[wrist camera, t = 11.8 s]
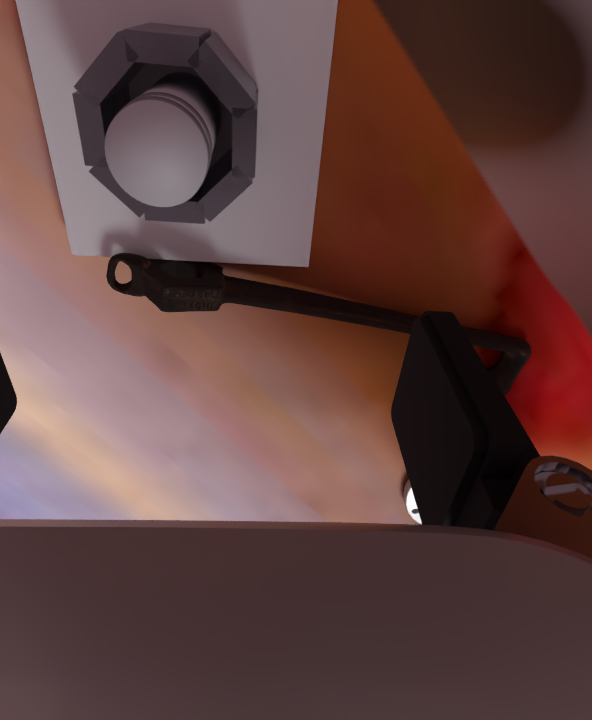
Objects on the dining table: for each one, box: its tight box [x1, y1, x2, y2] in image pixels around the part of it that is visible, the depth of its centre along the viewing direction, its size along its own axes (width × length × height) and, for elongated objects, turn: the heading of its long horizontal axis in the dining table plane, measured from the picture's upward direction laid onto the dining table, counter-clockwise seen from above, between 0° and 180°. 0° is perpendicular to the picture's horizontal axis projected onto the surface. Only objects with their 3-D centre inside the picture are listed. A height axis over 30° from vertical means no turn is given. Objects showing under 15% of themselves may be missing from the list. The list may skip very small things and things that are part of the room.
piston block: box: [16, 0, 338, 267], centre depth 21 cm, size 16×14×10 cm
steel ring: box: [72, 22, 258, 224], centre depth 21 cm, size 7×7×5 cm
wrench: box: [107, 253, 531, 396], centre depth 32 cm, size 5×5×30 cm
